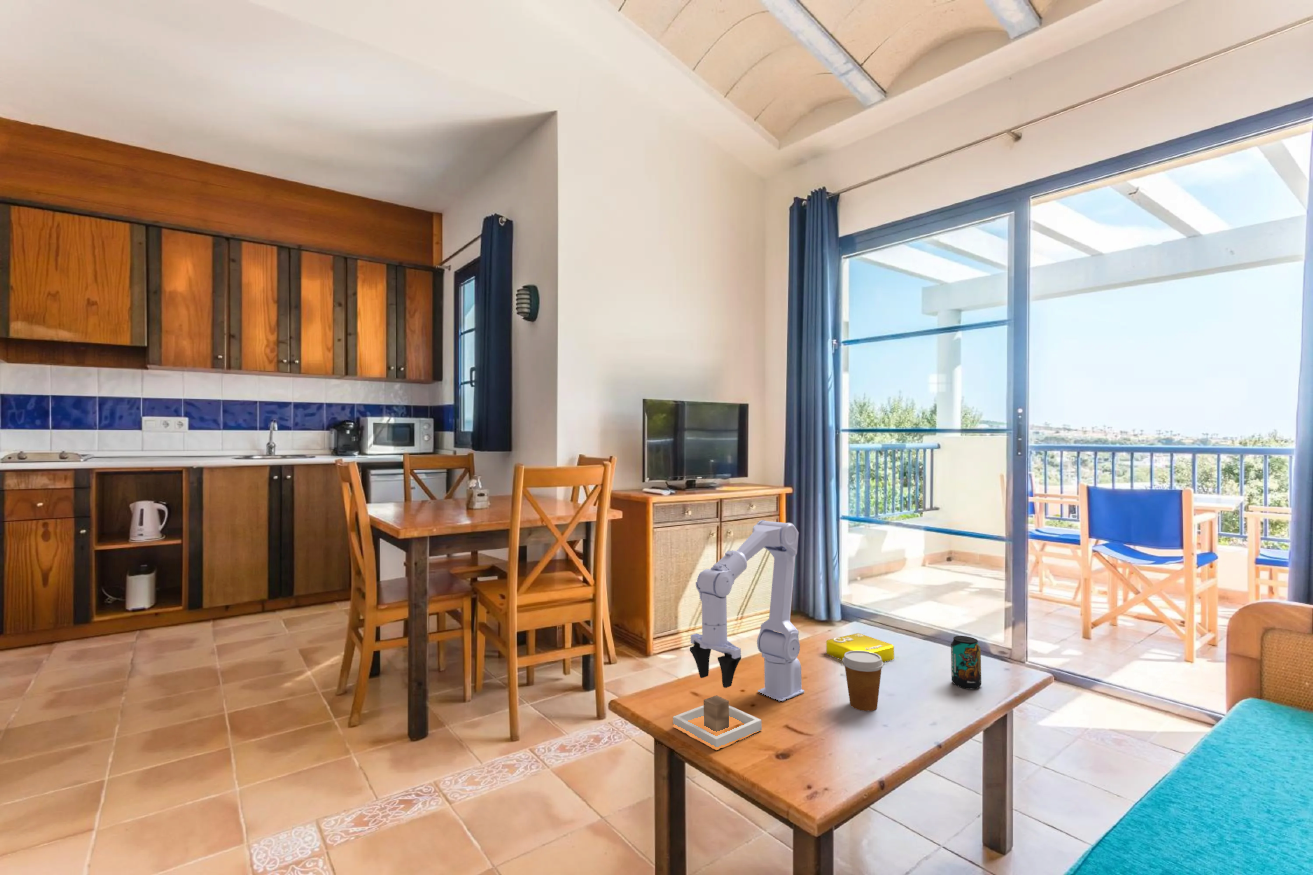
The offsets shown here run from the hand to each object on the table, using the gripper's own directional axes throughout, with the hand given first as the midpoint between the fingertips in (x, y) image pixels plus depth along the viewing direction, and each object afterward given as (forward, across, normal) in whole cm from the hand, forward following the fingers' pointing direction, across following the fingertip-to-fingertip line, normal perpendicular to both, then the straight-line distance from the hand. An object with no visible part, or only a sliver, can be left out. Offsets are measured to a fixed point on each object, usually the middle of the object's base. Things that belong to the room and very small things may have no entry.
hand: (715, 681), depth 140 cm
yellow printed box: (+10, -4, +64) cm, 65 cm away
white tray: (+9, +2, -2) cm, 10 cm away
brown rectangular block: (+9, +2, -2) cm, 10 cm away
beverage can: (+10, +27, +66) cm, 72 cm away
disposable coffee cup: (+10, +17, +34) cm, 39 cm away
